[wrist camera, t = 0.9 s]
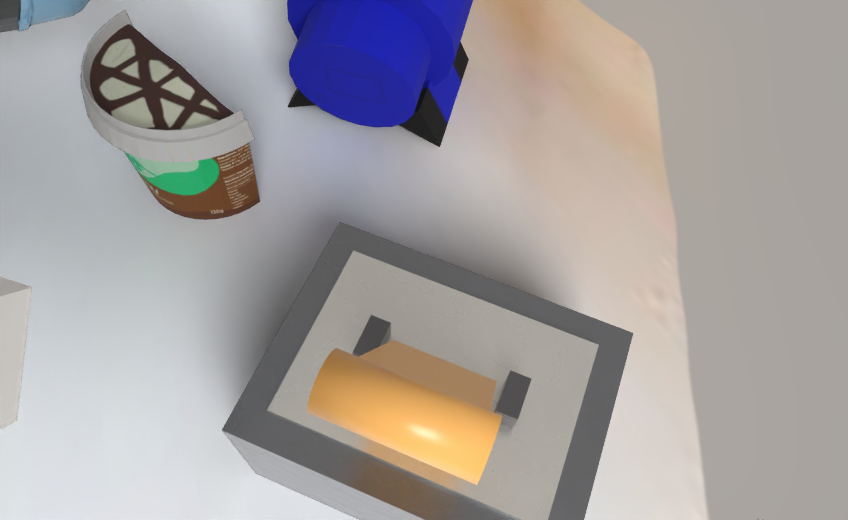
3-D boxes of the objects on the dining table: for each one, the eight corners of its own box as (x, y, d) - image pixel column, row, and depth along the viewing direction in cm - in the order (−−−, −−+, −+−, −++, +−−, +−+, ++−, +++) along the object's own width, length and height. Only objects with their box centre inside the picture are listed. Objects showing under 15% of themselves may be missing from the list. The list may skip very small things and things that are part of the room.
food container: (93, 161, 47) (28, 54, 38) (166, 115, 49) (120, 5, 41) (201, 269, 43) (155, 177, 34) (274, 214, 46) (248, 115, 37)
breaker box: (525, 594, 35) (578, 579, 25) (255, 473, 37) (212, 418, 28) (584, 391, 40) (645, 317, 31) (347, 297, 43) (337, 202, 33)
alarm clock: (470, 55, 54) (498, -128, 41) (433, 168, 48) (451, -3, 35) (329, 22, 55) (313, -166, 42) (276, 129, 49) (237, -51, 36)
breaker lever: (489, 419, 29) (474, 494, 19) (374, 371, 30) (300, 420, 20) (507, 373, 29) (501, 424, 19) (391, 327, 30) (325, 351, 20)
